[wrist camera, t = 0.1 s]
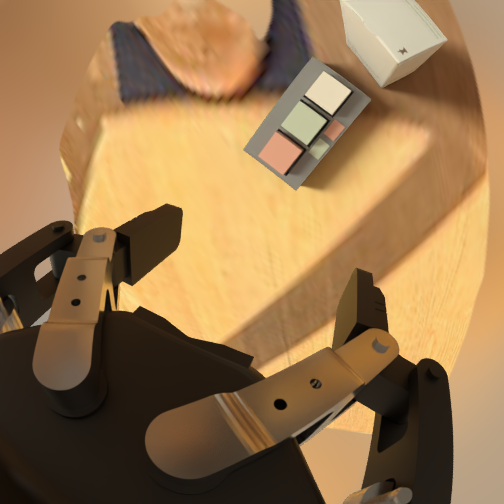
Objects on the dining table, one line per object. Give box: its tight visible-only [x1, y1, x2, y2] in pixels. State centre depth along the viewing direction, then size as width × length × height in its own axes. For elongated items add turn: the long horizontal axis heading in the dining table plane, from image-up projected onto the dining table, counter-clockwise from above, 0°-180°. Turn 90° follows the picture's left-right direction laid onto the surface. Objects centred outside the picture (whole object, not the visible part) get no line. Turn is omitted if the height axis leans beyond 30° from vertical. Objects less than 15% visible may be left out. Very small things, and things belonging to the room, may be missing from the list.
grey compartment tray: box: [243, 57, 371, 190], centre depth 33 cm, size 16×9×3 cm, turn 143°
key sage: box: [281, 101, 327, 145], centre depth 31 cm, size 4×4×2 cm
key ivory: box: [305, 71, 351, 115], centre depth 28 cm, size 4×4×2 cm
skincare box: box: [340, 0, 447, 88], centre depth 20 cm, size 8×7×16 cm
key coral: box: [258, 131, 304, 175], centre depth 34 cm, size 4×4×2 cm
